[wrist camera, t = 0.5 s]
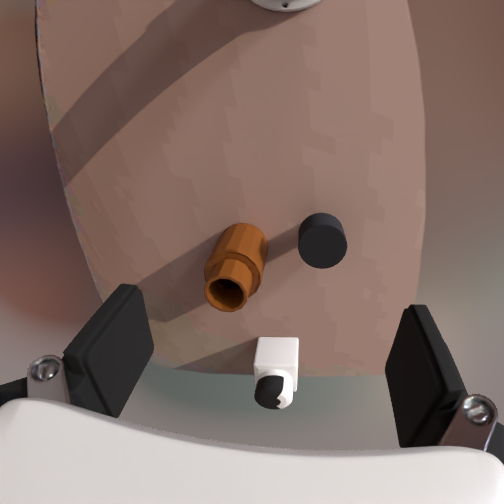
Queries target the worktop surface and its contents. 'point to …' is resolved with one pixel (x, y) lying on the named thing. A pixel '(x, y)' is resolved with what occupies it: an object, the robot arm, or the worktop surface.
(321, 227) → the stopper
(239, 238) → the amber bottle
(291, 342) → the medicine bottle
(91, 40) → the worktop surface
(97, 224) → the worktop surface
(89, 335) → the robot arm
